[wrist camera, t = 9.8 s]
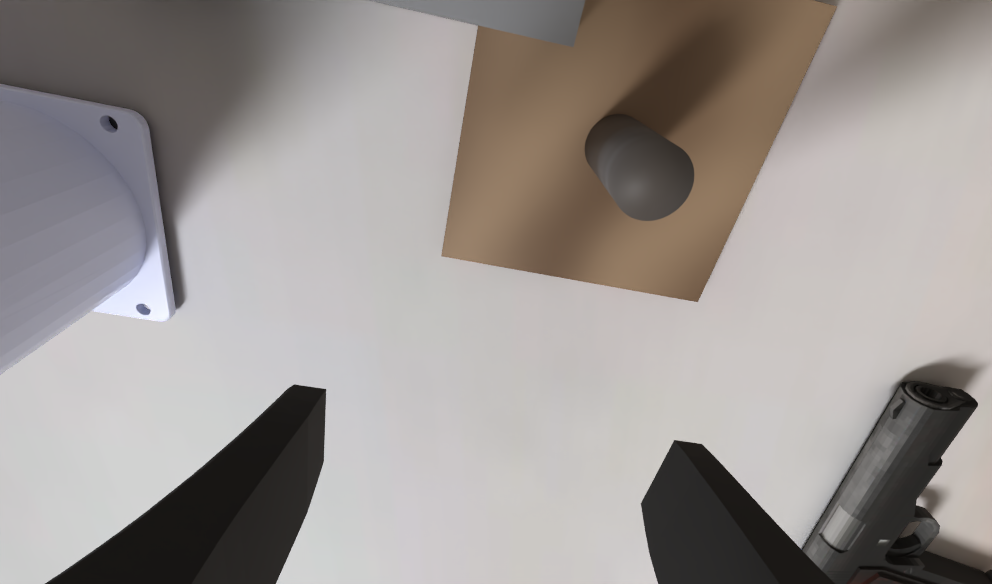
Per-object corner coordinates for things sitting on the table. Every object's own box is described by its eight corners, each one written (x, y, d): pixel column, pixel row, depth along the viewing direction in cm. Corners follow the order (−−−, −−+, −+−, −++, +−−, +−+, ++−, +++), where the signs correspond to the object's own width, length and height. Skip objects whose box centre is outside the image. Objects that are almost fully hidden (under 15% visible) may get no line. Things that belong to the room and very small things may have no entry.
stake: (442, 249, 18) (427, 317, 14) (495, -77, 13) (496, -126, 9) (691, 294, 19) (748, 370, 15) (824, 7, 14) (965, -3, 10)
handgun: (1216, 420, 20) (922, 411, 19) (979, 642, 28) (774, 639, 28) (1145, 382, 22) (879, 373, 21) (945, 599, 30) (754, 596, 30)
